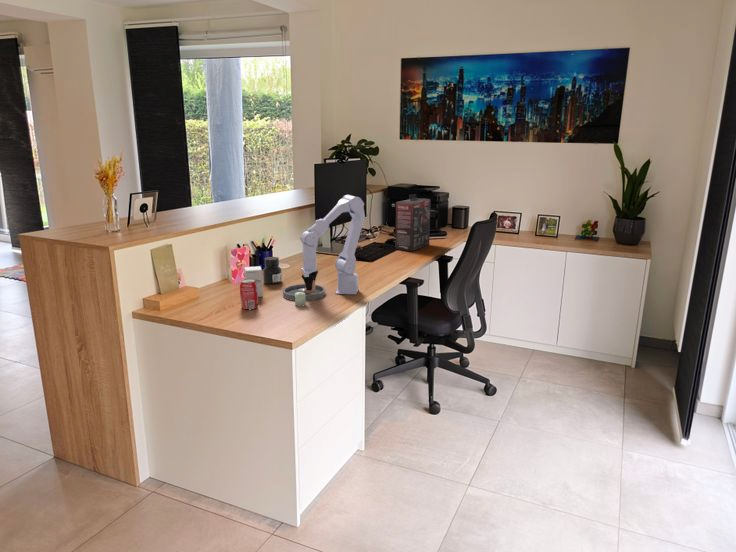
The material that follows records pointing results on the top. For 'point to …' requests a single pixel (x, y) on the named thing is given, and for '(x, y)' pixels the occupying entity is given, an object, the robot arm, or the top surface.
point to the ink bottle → (272, 271)
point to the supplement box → (255, 277)
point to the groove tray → (291, 290)
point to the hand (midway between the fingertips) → (310, 288)
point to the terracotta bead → (312, 288)
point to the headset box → (412, 223)
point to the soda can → (248, 294)
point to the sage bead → (300, 299)
